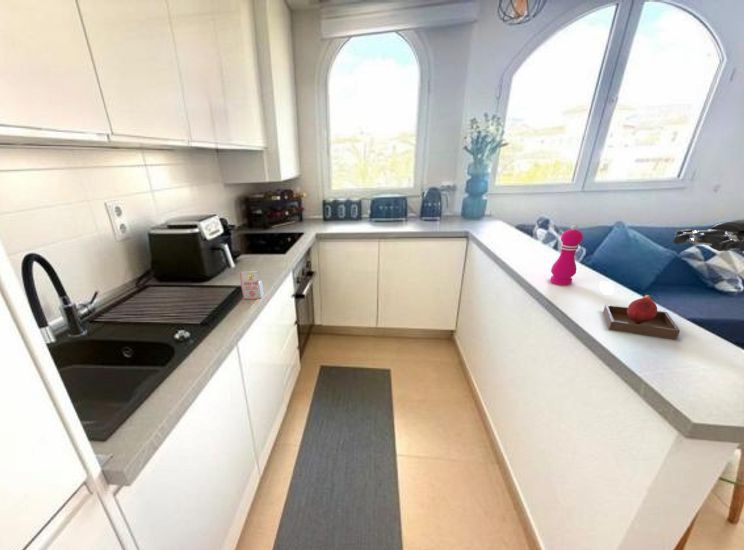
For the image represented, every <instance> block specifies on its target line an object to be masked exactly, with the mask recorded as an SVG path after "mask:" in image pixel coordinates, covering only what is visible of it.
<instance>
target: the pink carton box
mask: <svg viewBox="0 0 744 550" xmlns="http://www.w3.org/2000/svg"><path fill="white" fill-rule="evenodd" d="M239 274H240V275H239V277H240V287H241V288H240V289H241V293H242V299H243V300H262V299H263V297H264V296H265V294H264V288H263V281H262V280H263V279H262V278H261V277H262V276H261V275H260V271H258V270H257V271H255V270H253V271H240V272H239Z"/></svg>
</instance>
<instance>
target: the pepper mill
mask: <svg viewBox="0 0 744 550" xmlns="http://www.w3.org/2000/svg"><path fill="white" fill-rule="evenodd" d="M583 239H584V234H583V232H582V231H580V230H579V228H578V225H577V224H573V225H571V226H570V229H567V230H565V231H563V233H562V234H561V236H560V241H561V244H560V253H559V257H558V258H557V259H556V260H555V262H554V263H553V264H552V266H551V268H550V273H551V274H552V275H551V276H550V279H549V282H550V283H551V284H554V285H557V286H570V285H571V284H572V282H573V277H574V276H575V275H576V274H577V264H576V260H575V256H576V252H577V251H578V250H579V247H580V245H579V244H580V243H582V242H583Z"/></svg>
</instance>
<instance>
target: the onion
mask: <svg viewBox="0 0 744 550" xmlns="http://www.w3.org/2000/svg"><path fill="white" fill-rule="evenodd" d="M627 307H628V309H627V314H628V316H629V317H630V319H631V320H633V321H634V322H635V323H642V322H646V321H649V320H651V319H653V318H654V317H655V316H656V314H657V311H658V307H657V304H656V303H655V302H654V301H653V300H652V299H651V296H650V295H649V294H646V295H644V296H643V297H641V298H638V299H635V300H633V301H631V302H630V303H629V304H628V306H627Z"/></svg>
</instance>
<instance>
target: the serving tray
mask: <svg viewBox="0 0 744 550" xmlns="http://www.w3.org/2000/svg"><path fill="white" fill-rule="evenodd" d="M627 309H628V306H619V305H611V304H605V305H604V308H603V311H602V315H603V318H604V320H605V323H606V325H607V328H608V331H615V332H621V333H629V334H634V335H635V334H636V335H640V336H641V335H642V336H649V337H655V338H662V339H669V340H677V338H678V337H679V334H680V332H681V330H680V329H679V327H678V325H677V324H676V323H675V321H674V320H673V318H672V317H671V316H670V314H669V313H668V312H667V311H661V310H657V314H656V316H655V317H654V318H653V319H651V320H649V321H646V322H642V323H635V322H634V321H633V320H631V319H630V317H629V316H628V314H627Z"/></svg>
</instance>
